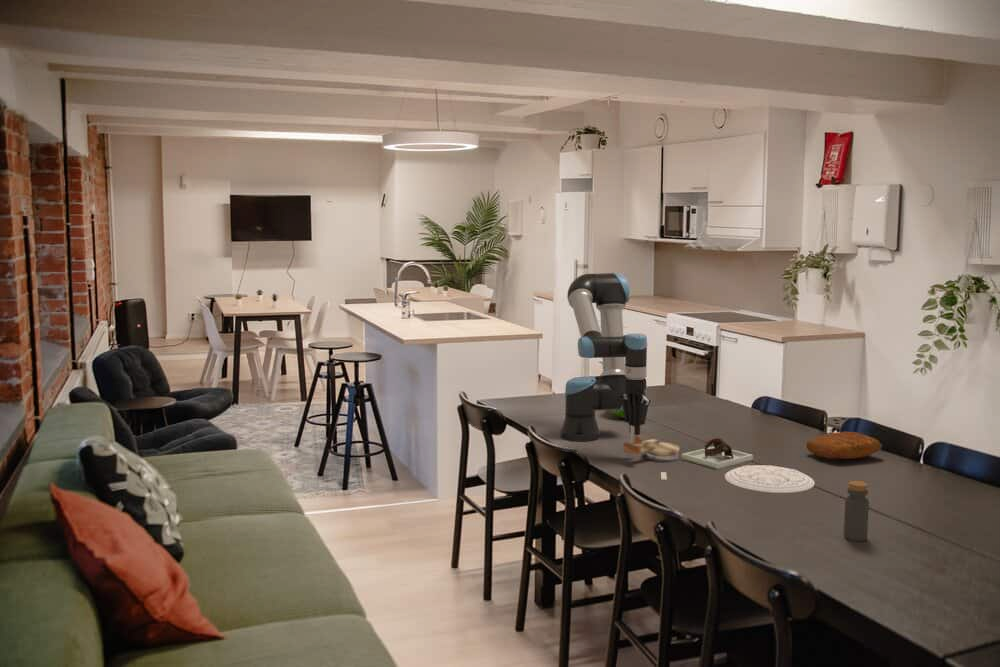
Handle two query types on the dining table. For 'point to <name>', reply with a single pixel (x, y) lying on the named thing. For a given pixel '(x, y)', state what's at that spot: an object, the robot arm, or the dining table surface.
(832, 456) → the bread loaf
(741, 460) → the tray
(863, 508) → the bottle
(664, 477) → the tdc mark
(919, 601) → the dining table surface
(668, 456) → the crank housing
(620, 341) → the robot arm
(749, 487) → the ceiling medallion
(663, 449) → the crank
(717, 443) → the pottery mug
